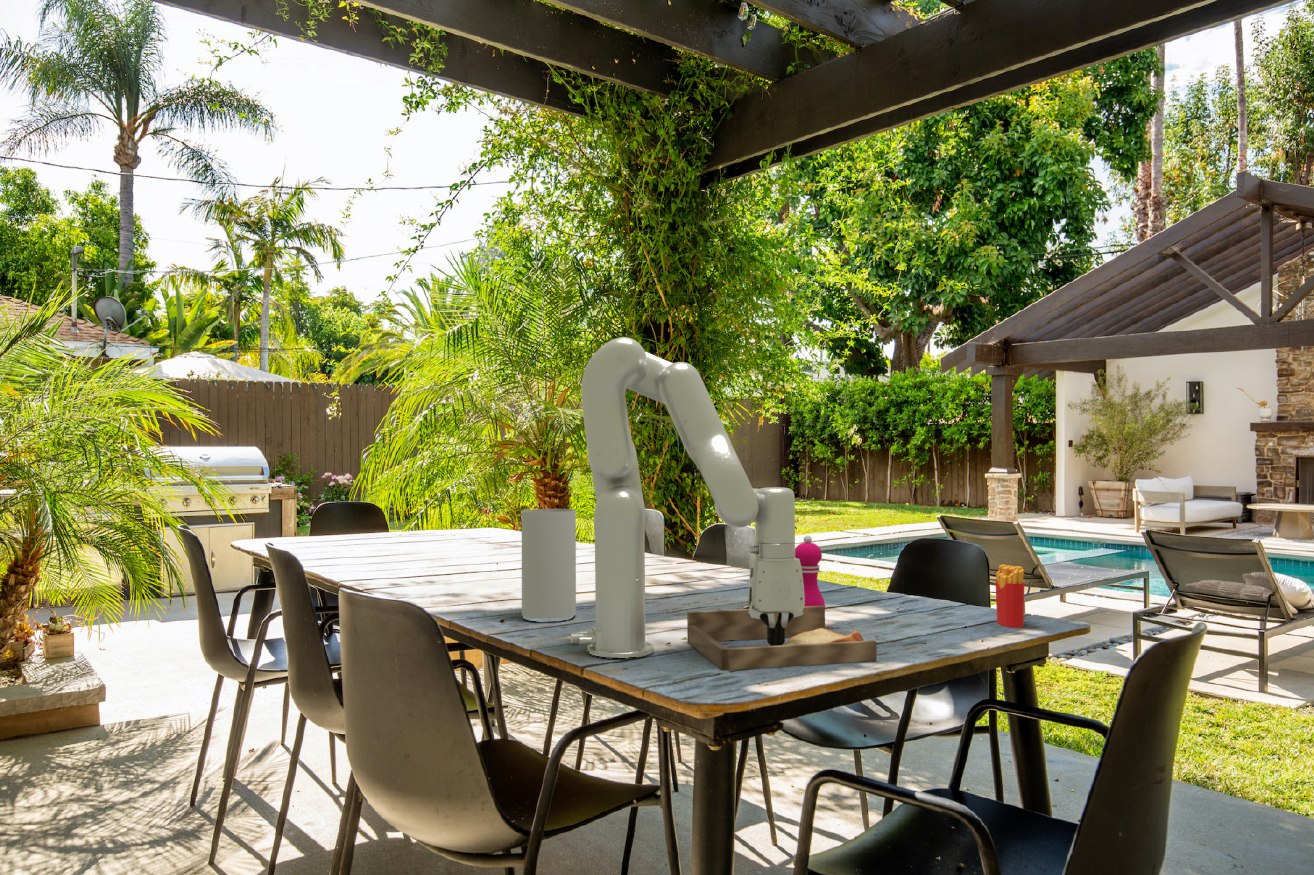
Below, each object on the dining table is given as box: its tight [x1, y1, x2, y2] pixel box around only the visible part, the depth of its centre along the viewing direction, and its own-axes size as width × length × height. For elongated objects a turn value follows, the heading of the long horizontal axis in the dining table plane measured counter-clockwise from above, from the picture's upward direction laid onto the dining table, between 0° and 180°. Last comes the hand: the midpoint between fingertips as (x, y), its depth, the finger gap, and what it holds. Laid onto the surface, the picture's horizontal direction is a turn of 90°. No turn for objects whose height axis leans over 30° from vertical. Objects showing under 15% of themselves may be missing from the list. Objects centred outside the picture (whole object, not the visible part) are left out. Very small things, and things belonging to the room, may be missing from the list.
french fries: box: [994, 563, 1025, 629], centre depth 192 cm, size 9×4×13 cm, turn 2°
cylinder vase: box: [521, 508, 577, 619], centre depth 203 cm, size 12×12×25 cm
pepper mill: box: [795, 535, 826, 607], centre depth 190 cm, size 7×7×20 cm
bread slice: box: [783, 628, 864, 645], centre depth 168 cm, size 18×18×4 cm
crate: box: [686, 605, 878, 671], centre depth 167 cm, size 29×24×6 cm
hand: (776, 647), depth 167 cm, fingers closed
